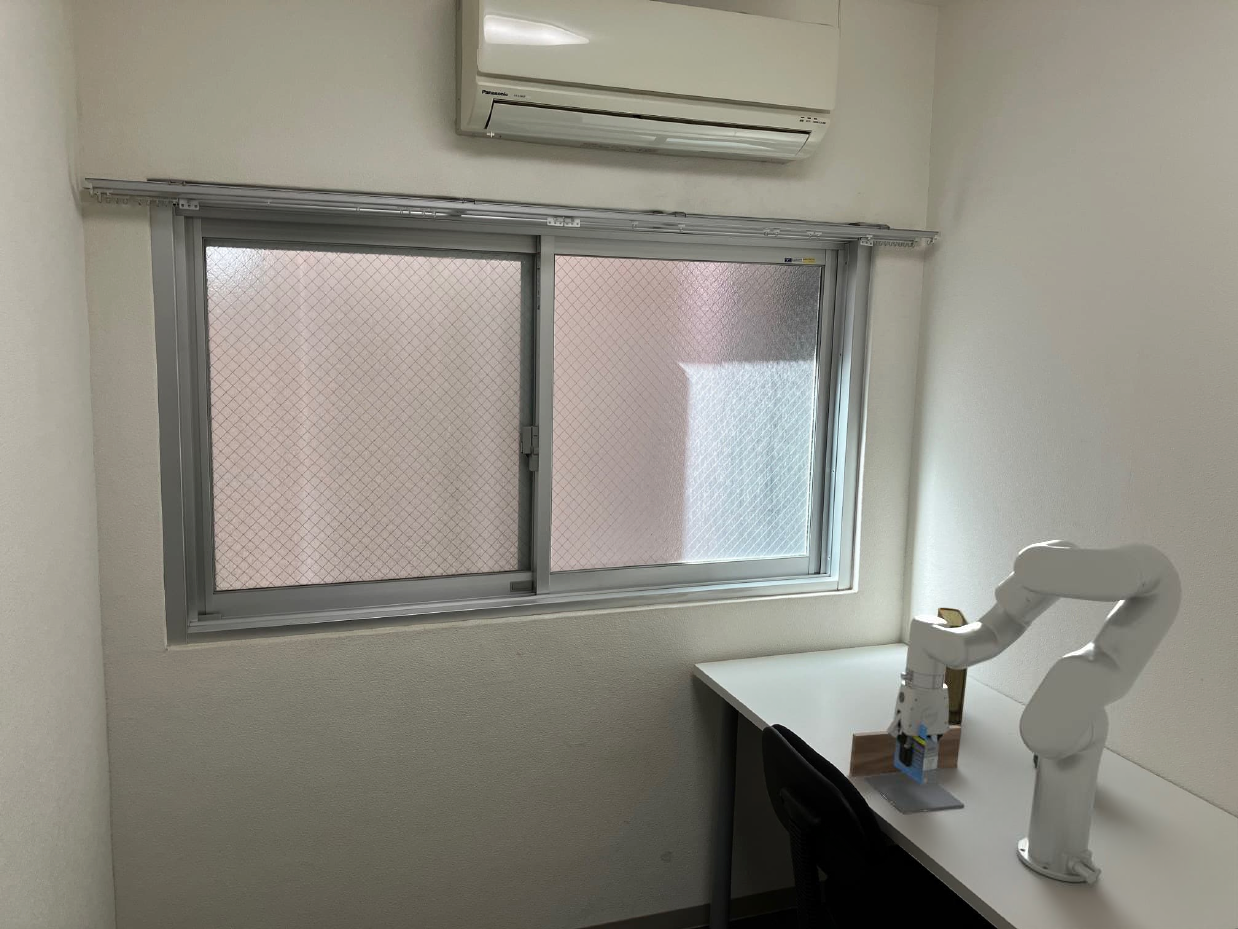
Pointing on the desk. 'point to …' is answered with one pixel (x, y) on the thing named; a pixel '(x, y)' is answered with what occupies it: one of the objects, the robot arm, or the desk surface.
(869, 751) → the walnut screen
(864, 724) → the desk surface
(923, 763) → the label tape box
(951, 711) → the book
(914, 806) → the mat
